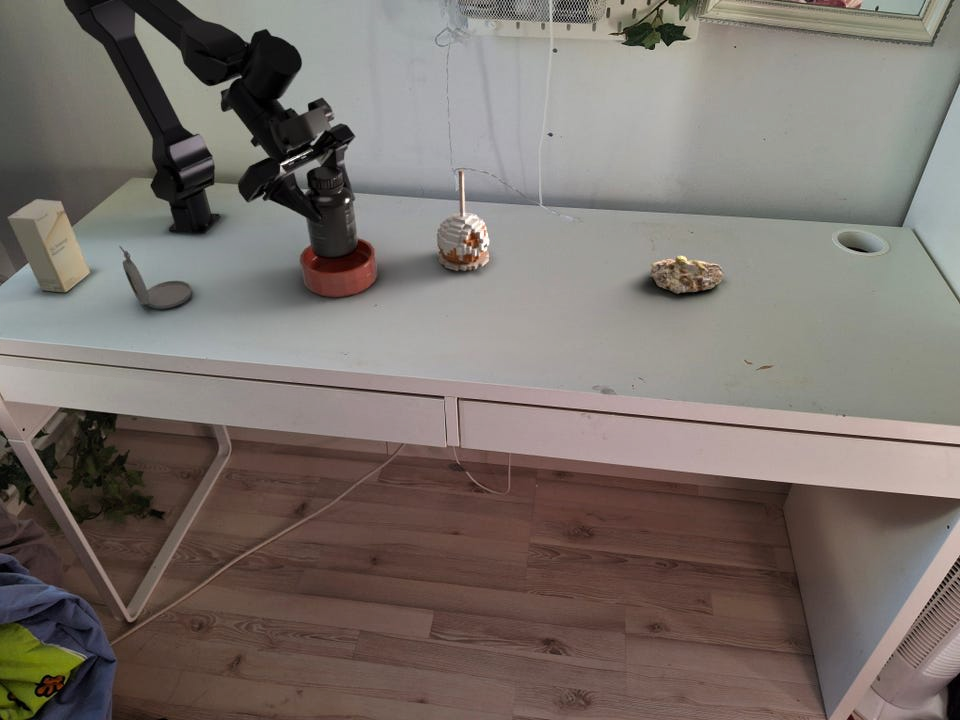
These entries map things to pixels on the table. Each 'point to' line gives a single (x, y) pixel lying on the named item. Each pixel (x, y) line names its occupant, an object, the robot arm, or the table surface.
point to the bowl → (339, 271)
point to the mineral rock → (686, 275)
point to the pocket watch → (155, 288)
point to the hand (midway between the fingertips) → (336, 211)
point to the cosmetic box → (49, 245)
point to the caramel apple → (463, 238)
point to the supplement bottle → (331, 214)
